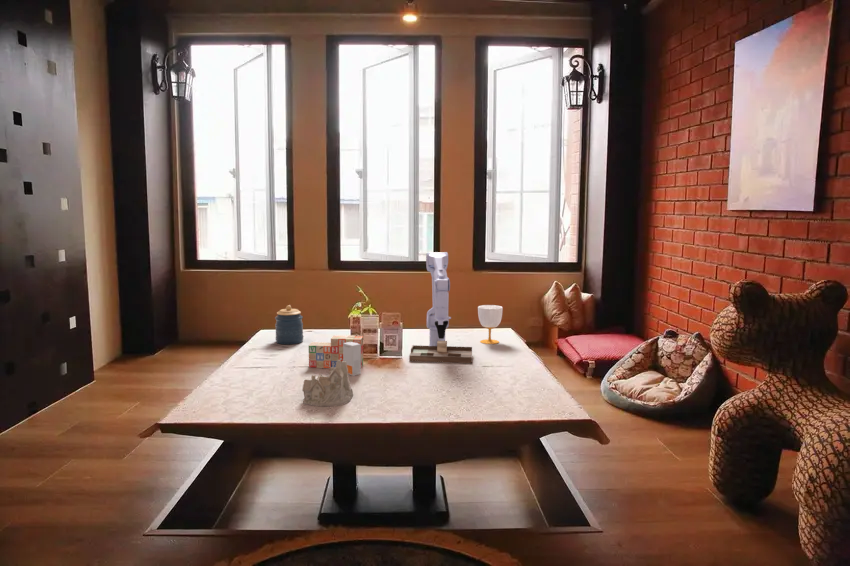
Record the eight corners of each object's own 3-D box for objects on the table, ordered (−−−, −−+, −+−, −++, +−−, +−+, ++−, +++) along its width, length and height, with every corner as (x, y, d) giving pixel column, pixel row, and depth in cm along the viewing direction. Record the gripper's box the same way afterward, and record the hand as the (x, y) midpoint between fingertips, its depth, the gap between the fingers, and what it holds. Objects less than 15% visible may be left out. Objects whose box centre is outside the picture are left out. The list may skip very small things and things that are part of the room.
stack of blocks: (308, 368, 245) (307, 338, 243) (312, 363, 251) (311, 334, 249) (361, 369, 243) (360, 339, 242) (363, 364, 250) (363, 335, 248)
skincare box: (342, 373, 237) (342, 343, 236) (351, 371, 240) (350, 341, 239) (353, 376, 233) (352, 345, 231) (361, 373, 236) (361, 343, 235)
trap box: (412, 354, 267) (412, 345, 266) (471, 355, 264) (472, 346, 264) (409, 361, 255) (409, 352, 254) (471, 363, 253) (471, 353, 252)
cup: (477, 338, 297) (478, 304, 295) (502, 339, 296) (502, 305, 294) (476, 344, 286) (477, 308, 284) (501, 345, 284) (502, 309, 282)
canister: (294, 337, 299) (293, 302, 296) (308, 342, 289) (307, 305, 287) (270, 341, 290) (269, 305, 288) (284, 346, 281) (283, 308, 278)
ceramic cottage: (358, 392, 213) (355, 350, 211) (342, 409, 197) (338, 365, 195) (317, 392, 216) (312, 351, 214) (298, 409, 201) (293, 365, 198)
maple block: (437, 349, 265) (437, 340, 264) (446, 349, 265) (446, 340, 264) (437, 351, 261) (437, 342, 260) (446, 352, 261) (446, 343, 260)
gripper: (450, 310, 249) (449, 342, 251) (451, 304, 264) (451, 334, 265) (433, 309, 250) (432, 341, 252) (435, 303, 264) (435, 334, 266)
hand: (441, 338), depth 259 cm, fingers closed
